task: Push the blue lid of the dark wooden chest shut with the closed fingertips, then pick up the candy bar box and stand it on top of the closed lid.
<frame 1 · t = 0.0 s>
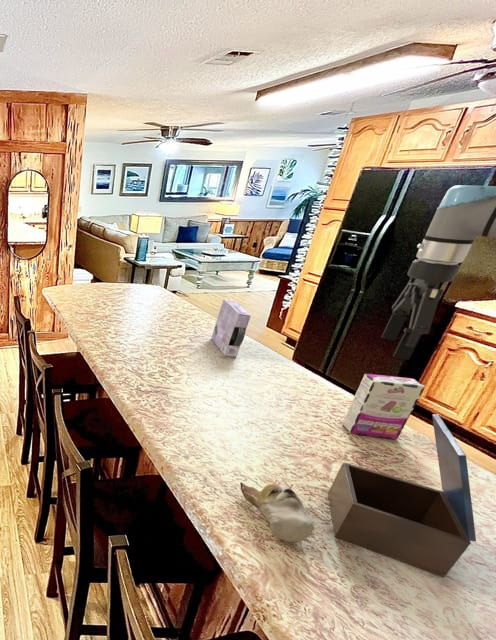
hand: (394, 348, 95), 25 cm above the countertop, tool pointing down, fingers open, 13 cm apart
chest: (379, 530, 76), on the countertop
ceramic sculpture: (274, 520, 78), on the countertop
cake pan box: (223, 348, 155), on the countertop
chest lid: (452, 474, 67), point 17 cm above the countertop, hinge at 65.0°
candy bar box: (367, 432, 106), on the countertop
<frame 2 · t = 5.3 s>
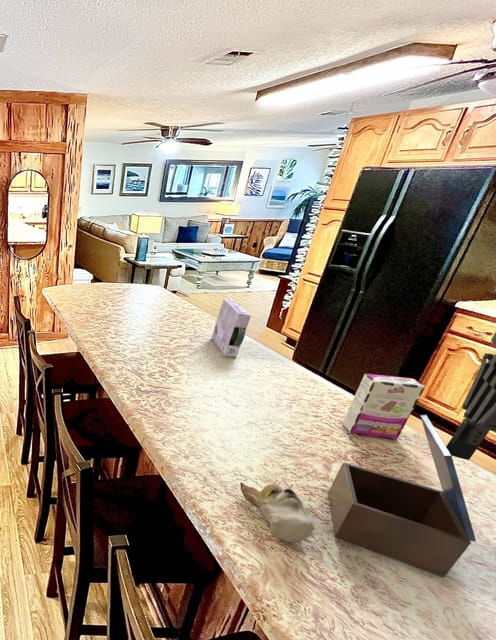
hand: (456, 454, 66), 21 cm above the countertop, tool pointing down, fingers closed
chest lid: (446, 474, 68), point 16 cm above the countertop, hinge at 59.6°, touching gripper
everything else where it was.
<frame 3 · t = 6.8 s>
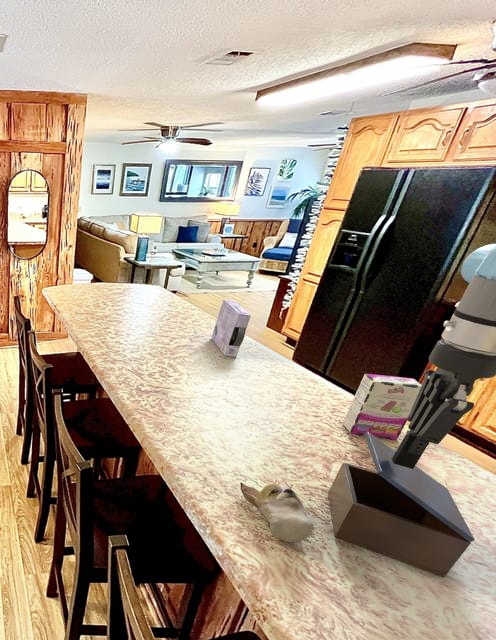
hand: (402, 463, 70), 16 cm above the countertop, tool pointing down, fingers closed
chest lid: (414, 481, 70), point 13 cm above the countertop, hinge at 27.7°, touching gripper
everything else where it was.
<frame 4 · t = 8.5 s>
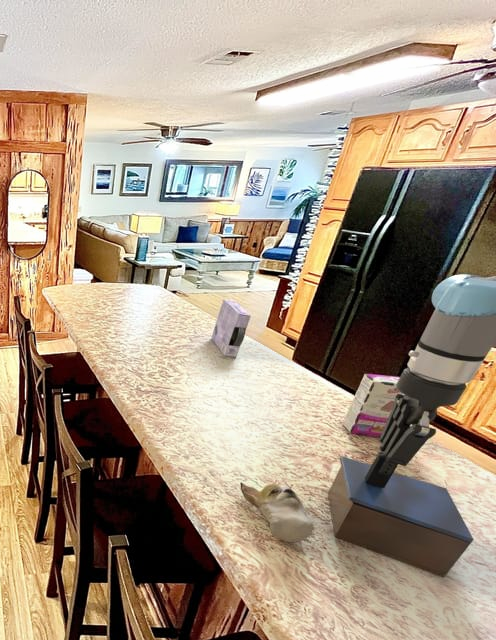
hand: (374, 483, 74), 10 cm above the countertop, tool pointing down, fingers closed
chest lid: (398, 494, 72), point 9 cm above the countertop, hinge at 1.4°, touching gripper
everything else where it was.
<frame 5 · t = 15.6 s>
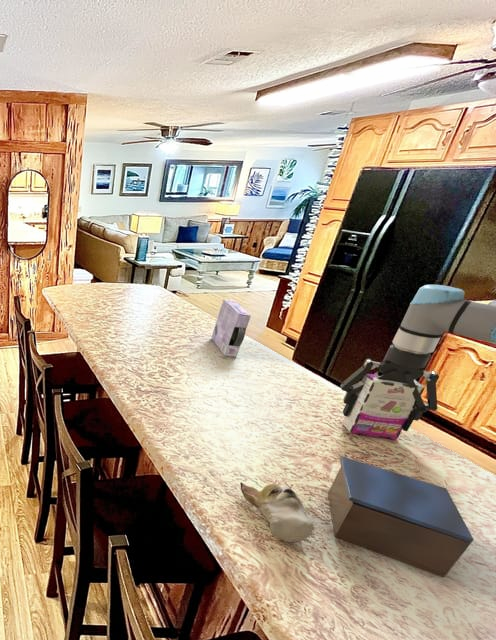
hand: (373, 421, 105), 4 cm above the countertop, tool pointing down, fingers closed on candy bar box, 12 cm apart
chest lid: (398, 494, 72), point 9 cm above the countertop, hinge at 1.4°
candy bar box: (367, 432, 106), on the countertop, touching gripper
everything else where it was.
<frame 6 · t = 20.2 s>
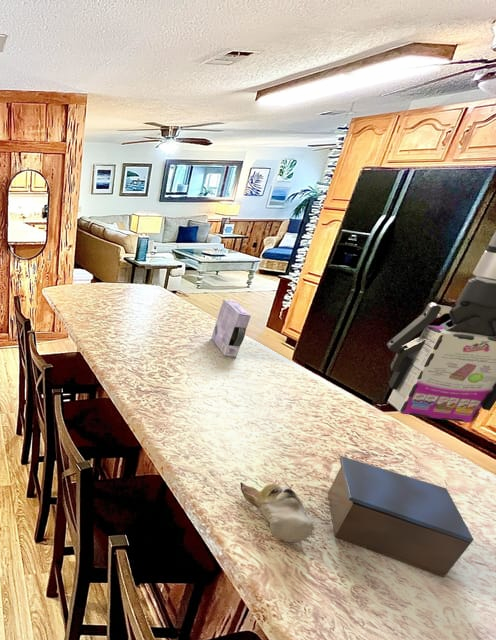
hand: (436, 396, 72), 27 cm above the countertop, tool pointing down, fingers closed on candy bar box, 12 cm apart
candy bar box: (425, 412, 73), point 23 cm above the countertop, touching gripper
everything else where it was.
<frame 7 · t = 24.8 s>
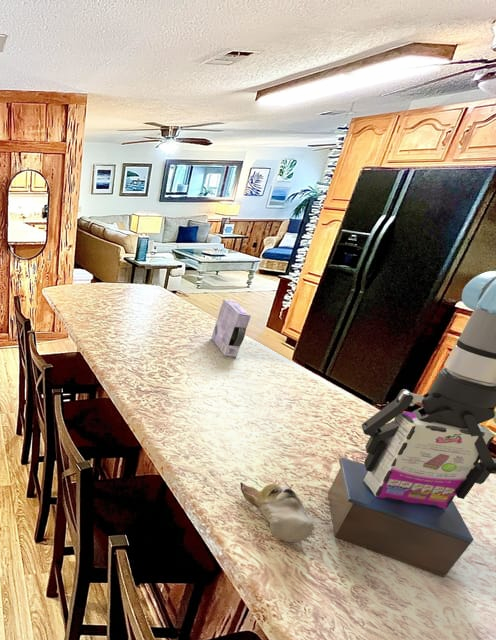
hand: (410, 479, 71), 13 cm above the countertop, tool pointing down, fingers closed on candy bar box, 12 cm apart
chest lid: (397, 494, 73), point 9 cm above the countertop, hinge at 0.1°, touching candy bar box
candy bar box: (400, 494, 72), point 9 cm above the countertop, touching chest lid, gripper
everything else where it was.
when the fingers open (13 cm above the countertop, at t = 25.1 s): candy bar box stays where it is, resting on chest lid.
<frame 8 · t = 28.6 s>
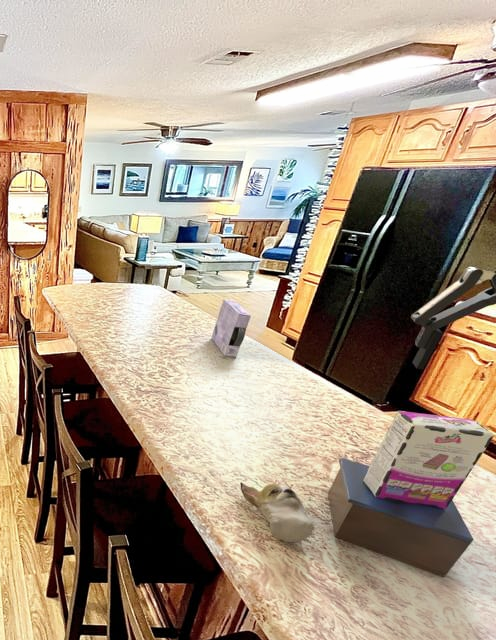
hand: (474, 377, 61), 35 cm above the countertop, tool pointing down, fingers open, 13 cm apart
candy bar box: (400, 494, 72), point 9 cm above the countertop, touching chest lid
everything else where it was.
at the end: chest lid at +0° (first picture: +65°); candy bar box inside the target area on the chest (0.1 cm from its centre), point 9.4 cm above the chest's base; candy bar box tilted 0° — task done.
